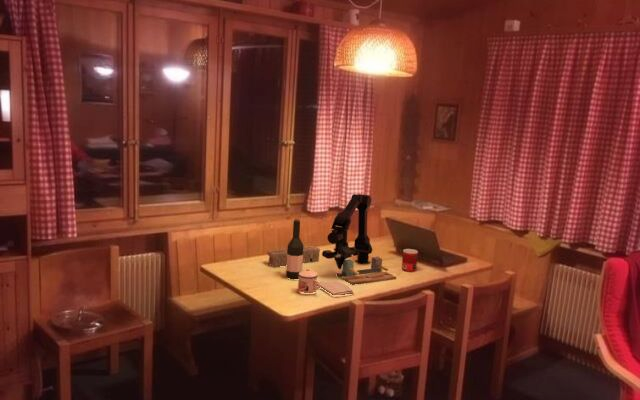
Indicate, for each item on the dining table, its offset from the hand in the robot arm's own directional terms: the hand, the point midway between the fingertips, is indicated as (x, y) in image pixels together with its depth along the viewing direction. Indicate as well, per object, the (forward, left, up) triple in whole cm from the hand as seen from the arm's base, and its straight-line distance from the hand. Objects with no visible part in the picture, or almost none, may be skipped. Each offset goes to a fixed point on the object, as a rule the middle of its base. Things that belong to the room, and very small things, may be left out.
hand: (339, 269), depth 292 cm
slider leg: (+4, +5, -4) cm, 7 cm away
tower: (-28, -12, -4) cm, 31 cm away
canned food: (+4, +42, -4) cm, 42 cm away
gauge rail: (+4, +13, -4) cm, 14 cm away
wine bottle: (-6, -23, -4) cm, 24 cm away
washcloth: (+17, -13, -5) cm, 22 cm away
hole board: (+10, +13, -4) cm, 16 cm away
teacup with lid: (+16, -26, -4) cm, 31 cm away
